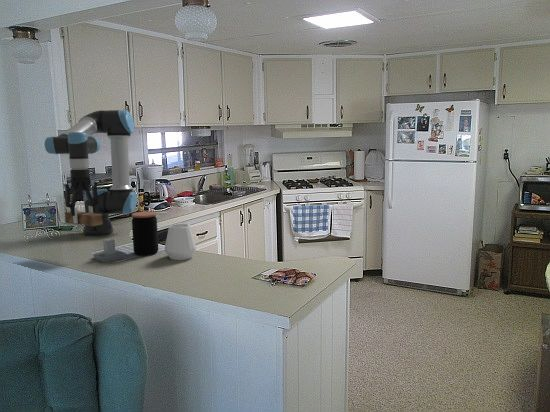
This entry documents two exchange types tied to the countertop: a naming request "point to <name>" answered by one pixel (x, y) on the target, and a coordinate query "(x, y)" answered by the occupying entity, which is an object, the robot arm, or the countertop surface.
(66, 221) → the walnut bar
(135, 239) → the coffee jar
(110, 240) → the slate fulcrum
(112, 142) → the robot arm
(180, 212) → the countertop surface
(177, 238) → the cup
